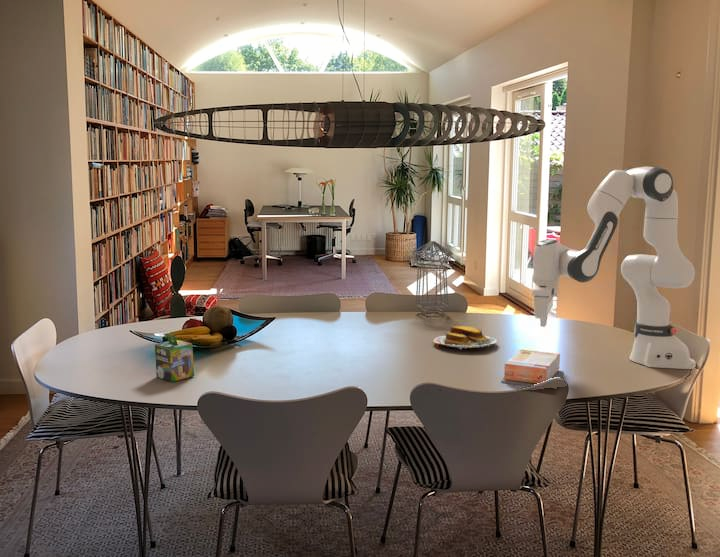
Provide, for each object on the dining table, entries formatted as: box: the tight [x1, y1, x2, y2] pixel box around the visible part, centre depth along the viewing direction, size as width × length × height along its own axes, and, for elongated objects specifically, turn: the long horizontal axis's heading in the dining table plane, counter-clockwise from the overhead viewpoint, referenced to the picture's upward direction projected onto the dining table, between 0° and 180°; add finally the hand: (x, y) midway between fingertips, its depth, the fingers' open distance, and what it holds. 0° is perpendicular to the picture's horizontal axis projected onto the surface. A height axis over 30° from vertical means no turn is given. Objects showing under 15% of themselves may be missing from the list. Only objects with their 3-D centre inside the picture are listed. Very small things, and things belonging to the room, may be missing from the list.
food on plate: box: [432, 325, 498, 350], centre depth 287 cm, size 25×25×7 cm
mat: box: [501, 370, 565, 387], centre depth 245 cm, size 18×20×1 cm
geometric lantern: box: [411, 240, 454, 318], centre depth 340 cm, size 16×16×35 cm
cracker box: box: [503, 349, 561, 384], centre depth 246 cm, size 14×6×21 cm
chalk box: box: [154, 333, 195, 383], centre depth 241 cm, size 9×9×15 cm
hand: (543, 325), depth 253 cm, fingers closed
